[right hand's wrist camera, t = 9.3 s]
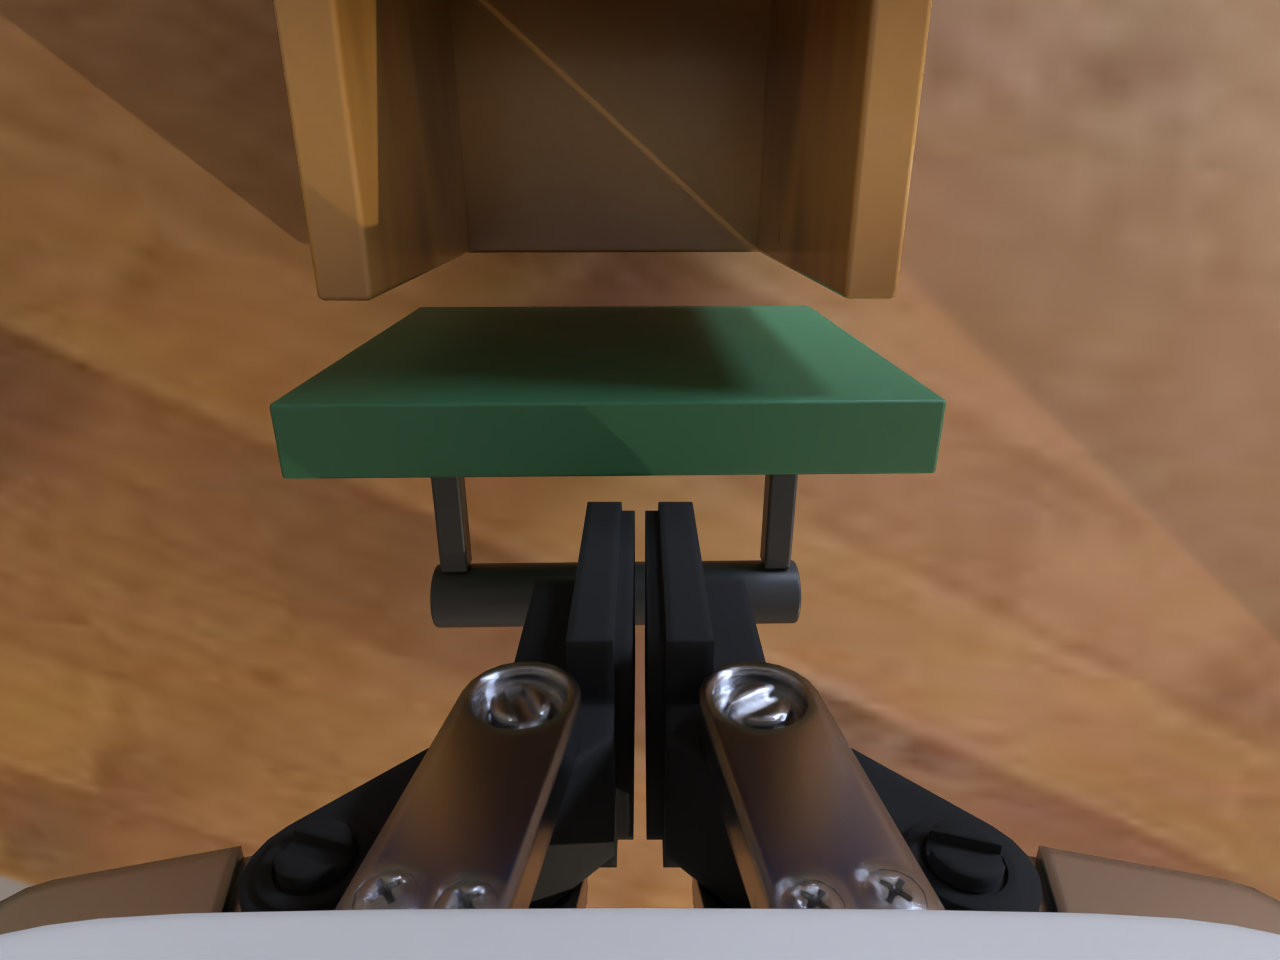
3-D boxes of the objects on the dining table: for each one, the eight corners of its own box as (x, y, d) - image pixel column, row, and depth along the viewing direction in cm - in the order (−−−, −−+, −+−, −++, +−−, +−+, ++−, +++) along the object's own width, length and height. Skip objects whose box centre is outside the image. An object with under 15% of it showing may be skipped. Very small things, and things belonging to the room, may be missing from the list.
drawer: (791, 532, 22) (894, 749, 14) (443, 536, 22) (333, 757, 14) (853, -244, 16) (1122, -728, 7) (360, -249, 15) (49, -755, 7)
